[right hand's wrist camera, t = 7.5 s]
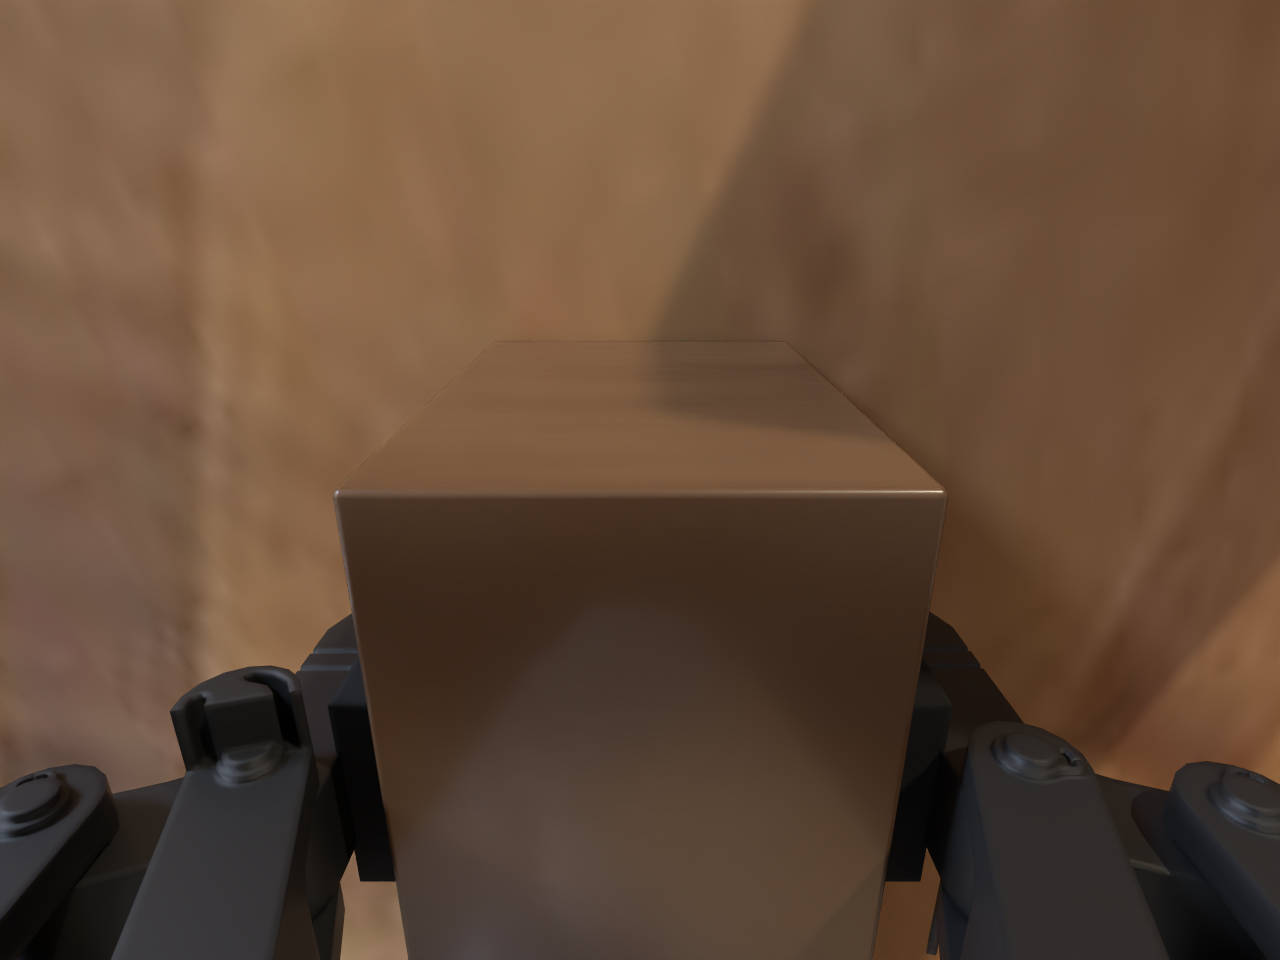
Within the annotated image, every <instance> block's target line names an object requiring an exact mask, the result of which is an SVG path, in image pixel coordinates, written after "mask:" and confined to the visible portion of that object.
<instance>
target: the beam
mask: <svg viewBox="0 0 1280 960" xmlns="http://www.w3.org/2000/svg"><path fill="white" fill-rule="evenodd" d="M333 500H334V506H335V512H336V518H337V524H338V530H339V537H340V543H341V549H342V555H343V561H344V567H345V573H346V579H347V586H348V592H349V598H350V604H351V610H352V616H353V622H354V628H355V635H356V641H357V647H358V653H359V659H360V665H361V671H362V677H363V684H364V690H365V696H366V702H367V708H368V714H369V720H370V726H371V733H372V739H373V745H374V751H375V757H376V763H377V769H378V775H379V782H380V788H381V794H382V800H383V806H384V812H385V818H386V824H387V831H388V837H389V843H390V849H391V855H392V861H393V867H394V873H395V880H396V886H397V892H398V898H399V904H400V910H401V916H402V922H403V929H404V935H405V941H406V947H407V953H408V959H409V960H872V957H873V951H874V945H875V939H876V933H877V927H878V921H879V915H880V909H881V903H882V896H883V890H884V884H885V878H886V872H887V866H888V860H889V854H890V848H891V842H892V836H893V829H894V823H895V817H896V811H897V805H898V799H899V793H900V787H901V781H902V775H903V769H904V762H905V756H906V750H907V744H908V738H909V732H910V726H911V720H912V714H913V708H914V702H915V695H916V689H917V683H918V677H919V671H920V665H921V659H922V653H923V647H924V641H925V635H926V628H927V622H928V616H929V610H930V604H931V598H932V592H933V586H934V580H935V574H936V567H937V561H938V555H939V549H940V543H941V537H942V531H943V525H944V519H945V513H946V507H947V500H948V494H947V491H946V489H945V488H944V487H943V486H942V485H941V484H940V483H939V482H938V481H937V480H935V479H934V478H933V477H932V476H931V475H930V474H929V473H928V472H927V471H926V470H925V469H923V468H922V467H921V466H920V465H919V464H918V463H917V462H916V461H915V460H914V459H913V458H912V457H910V456H909V455H908V454H907V453H906V452H905V451H904V450H903V449H902V448H901V447H900V446H899V445H897V444H896V443H895V442H894V441H893V440H892V439H891V438H890V437H889V436H888V435H887V434H885V433H884V432H883V431H882V430H881V429H880V428H879V427H878V426H877V425H876V424H875V423H874V422H872V421H871V420H870V419H869V418H868V417H867V416H866V415H865V414H864V413H863V412H862V411H861V410H859V409H858V408H857V407H856V406H855V405H854V404H853V403H852V402H851V401H850V400H849V399H848V398H846V397H845V396H844V395H843V394H842V393H841V392H840V391H839V390H838V389H837V388H836V387H834V386H833V385H832V384H831V383H830V382H829V381H828V380H827V379H826V378H825V377H824V376H823V375H821V374H820V373H819V372H818V371H817V370H816V369H815V368H814V367H813V366H812V365H811V364H810V363H808V362H807V361H806V360H805V359H804V358H803V357H802V356H801V355H800V354H799V353H798V352H796V351H795V350H794V349H793V348H792V347H791V346H790V345H789V344H788V343H786V342H784V341H496V342H494V343H493V344H491V345H490V346H489V347H488V348H487V349H486V350H485V351H484V352H483V353H482V354H481V355H480V356H478V357H477V358H476V359H475V360H474V361H473V362H472V363H471V364H470V365H469V366H468V367H467V368H466V369H464V370H463V371H462V372H461V373H460V374H459V375H458V376H457V377H456V378H455V379H454V380H453V381H451V382H450V383H449V384H448V385H447V386H446V387H445V388H444V389H443V390H442V391H441V392H440V393H439V394H437V395H436V396H435V397H434V398H433V399H432V400H431V401H430V402H429V403H428V404H427V405H426V406H424V407H423V408H422V409H421V410H420V411H419V412H418V413H417V414H416V415H415V416H414V417H413V418H412V419H410V420H409V421H408V422H407V423H406V424H405V425H404V426H403V427H402V428H401V429H400V430H399V431H397V432H396V433H395V434H394V435H393V436H392V437H391V438H390V439H389V440H388V441H387V442H386V443H384V444H383V445H382V446H381V447H380V448H379V449H378V450H377V451H376V452H375V453H374V454H373V455H372V456H370V457H369V458H368V459H367V460H366V461H365V462H364V463H363V464H362V465H361V466H360V467H359V468H357V469H356V470H355V471H354V472H353V473H352V474H351V475H350V476H349V477H348V478H347V479H346V480H345V481H343V482H342V483H341V484H340V485H339V486H338V487H337V488H336V489H335V491H334V494H333Z"/></svg>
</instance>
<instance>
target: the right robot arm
mask: <svg viewBox="0 0 1280 960" xmlns="http://www.w3.org/2000/svg"><path fill="white" fill-rule="evenodd" d="M170 714H171V718H172V721H173V725H174V728H175V732H176V735H177V739H178V743H179V746H180V750H181V753H182V757H183V760H184V764H185V767H186V771H187V772H186V774H185V777H183V778H179V779H176V780H173V781H169V782H165V783H160V784H156V785H151V786H147V787H142V788H138V789H133V790H129V791H124V792H120V793H115V794H112V792H111V789H110V786H109V783H108V780H107V777H106V775H105V774H104V773H102V772H101V771H100V770H98V769H97V768H96V767H94V766H85V765H77V764H73V765H66V766H60V767H53V768H48V769H45V770H42V771H38V772H36V773H33V774H29V775H27V776H24V777H22V778H19V779H17V780H15V781H14V782H12V783H10V784H8V785H6V786H4V787H2V788H0V960H340V954H341V944H342V934H343V923H344V913H345V907H344V901H343V894H342V889H341V884H340V880H341V878H342V876H343V874H344V871H345V869H346V867H347V865H348V862H349V860H350V858H351V856H352V853H353V851H354V850H355V856H356V861H357V866H358V872H359V877H360V881H396V880H395V873H394V867H393V861H392V855H391V849H390V843H389V837H388V831H387V824H386V818H385V812H384V806H383V800H382V794H381V788H380V782H379V775H378V769H377V763H376V757H375V751H374V745H373V739H372V733H371V726H370V720H369V714H368V708H367V702H366V696H365V690H364V684H363V677H362V671H361V665H360V659H359V653H358V647H357V641H356V635H355V628H354V622H353V616H352V614H350V615H349V616H347V617H346V618H344V619H343V620H341V621H340V622H339V623H337V624H336V625H334V626H333V627H331V628H330V629H328V631H327V632H326V633H325V635H324V636H323V637H322V639H321V640H320V641H319V643H318V644H317V645H316V647H315V648H314V650H313V654H310V655H309V656H308V658H307V659H306V660H305V662H304V663H303V664H302V666H301V671H297V673H296V674H294V673H292V672H291V671H290V670H289V669H284V668H280V667H275V666H254V667H246V668H242V669H238V670H234V671H230V672H225V673H223V674H220V675H218V676H216V677H214V678H211V679H209V680H207V681H205V682H202V683H200V684H199V685H197V686H196V687H195V688H193V689H192V690H190V691H189V692H187V693H186V694H185V695H183V696H182V697H181V698H180V699H179V701H178V702H177V703H176V704H175V706H174V707H173V708H172V709H171V711H170ZM926 848H927V849H928V851H929V853H930V856H931V858H932V860H933V862H934V865H935V867H936V869H937V871H938V874H939V876H940V878H941V879H940V884H939V889H938V894H937V899H936V904H935V909H934V914H933V919H932V924H931V929H930V934H929V940H928V946H927V953H928V954H932V955H936V953H937V948H938V943H939V952H940V960H1280V784H1278V783H1276V782H1274V781H1272V780H1270V779H1268V778H1266V777H1265V776H1263V775H1260V774H1258V773H1255V772H1253V771H1250V770H1249V771H1248V770H1246V769H1244V768H1240V767H1237V766H1234V765H1228V764H1222V763H1215V762H1208V761H1205V762H1197V763H1188V764H1186V765H1185V766H1183V767H1182V768H1181V769H1179V770H1178V771H1177V772H1176V773H1175V776H1174V779H1173V782H1172V785H1171V788H1170V791H1165V790H1161V789H1156V788H1152V787H1147V786H1143V785H1138V784H1134V783H1129V782H1124V781H1120V780H1115V779H1111V778H1108V777H1104V776H1101V775H1098V774H1095V773H1094V770H1093V769H1092V767H1091V766H1090V765H1089V763H1088V762H1087V760H1086V759H1085V757H1084V756H1083V754H1081V753H1080V752H1079V751H1078V750H1076V749H1075V748H1074V747H1073V746H1072V745H1070V744H1069V743H1068V742H1067V741H1065V740H1064V739H1062V738H1060V737H1058V736H1056V735H1054V734H1052V733H1050V732H1048V731H1046V730H1044V729H1042V728H1038V727H1034V726H1031V725H1027V724H1024V723H1023V721H1022V720H1021V719H1020V717H1019V716H1018V715H1017V713H1016V712H1015V711H1014V709H1013V708H1012V707H1011V705H1010V704H1009V702H1008V701H1007V700H1006V698H1005V697H1004V696H1003V694H1002V693H1001V692H1000V690H999V689H998V688H997V686H996V685H995V684H994V682H993V681H992V680H991V678H990V677H989V676H988V674H987V673H986V672H985V670H984V669H981V668H980V663H979V662H978V661H977V659H976V658H975V657H974V655H973V654H972V653H971V651H968V647H967V646H966V645H965V643H964V642H963V641H962V639H961V638H960V637H959V635H958V634H957V632H956V631H955V630H954V628H953V627H952V626H950V625H949V624H947V623H946V622H944V621H943V620H941V619H940V618H938V617H937V616H935V615H934V614H932V613H931V612H929V616H928V622H927V628H926V635H925V641H924V647H923V653H922V659H921V665H920V671H919V677H918V683H917V689H916V695H915V702H914V708H913V714H912V720H911V726H910V732H909V738H908V744H907V750H906V756H905V762H904V769H903V775H902V781H901V787H900V793H899V799H898V805H897V811H896V817H895V823H894V829H893V836H892V842H891V848H890V854H889V860H888V866H887V872H886V878H885V881H898V882H920V880H921V874H922V869H923V864H924V858H925V853H926Z"/></svg>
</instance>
